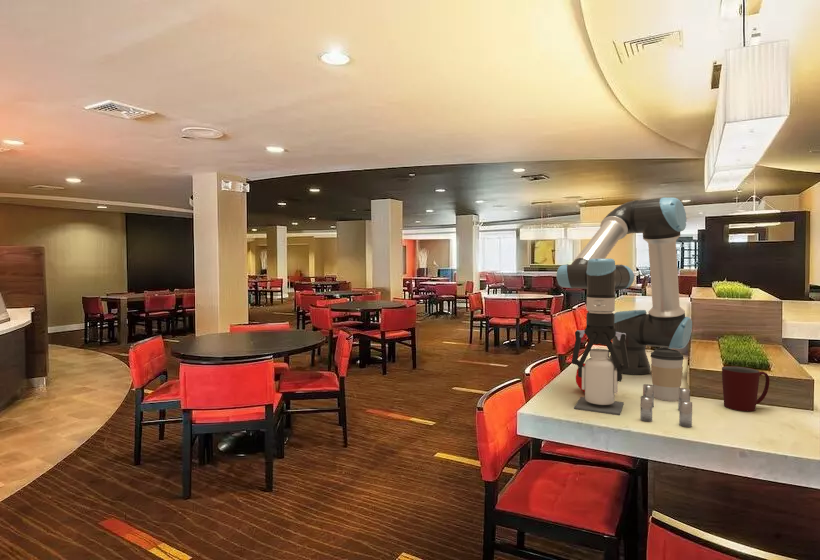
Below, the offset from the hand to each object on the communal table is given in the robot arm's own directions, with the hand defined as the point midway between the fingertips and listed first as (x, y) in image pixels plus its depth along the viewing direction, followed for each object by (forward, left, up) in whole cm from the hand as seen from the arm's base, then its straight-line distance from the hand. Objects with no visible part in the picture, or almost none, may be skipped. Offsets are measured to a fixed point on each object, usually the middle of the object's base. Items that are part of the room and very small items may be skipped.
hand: (599, 390), depth 139 cm
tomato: (-14, -3, -5) cm, 15 cm away
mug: (-18, +37, -5) cm, 41 cm away
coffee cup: (-19, +17, -5) cm, 26 cm away
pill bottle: (0, 0, -3) cm, 3 cm away
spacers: (0, +17, -5) cm, 18 cm away
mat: (0, 0, -5) cm, 5 cm away
